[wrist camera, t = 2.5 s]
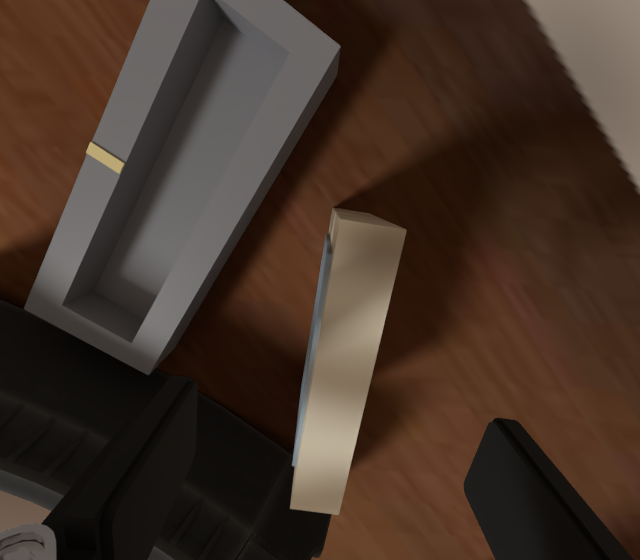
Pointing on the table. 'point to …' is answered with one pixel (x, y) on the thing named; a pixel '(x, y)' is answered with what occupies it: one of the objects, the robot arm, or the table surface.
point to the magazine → (107, 418)
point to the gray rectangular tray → (179, 169)
